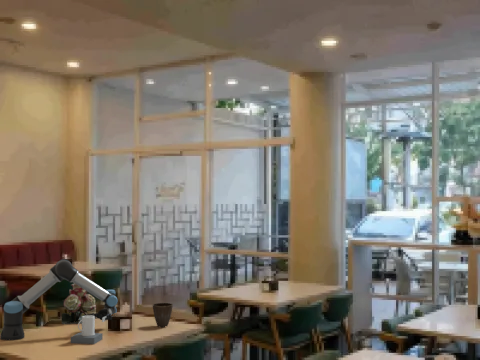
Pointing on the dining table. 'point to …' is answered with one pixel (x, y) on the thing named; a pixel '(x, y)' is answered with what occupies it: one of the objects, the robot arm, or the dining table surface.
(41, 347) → the dining table surface
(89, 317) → the mug
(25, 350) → the dining table surface
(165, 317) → the plant pot
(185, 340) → the dining table surface
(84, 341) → the base block
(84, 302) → the rose bouquet
